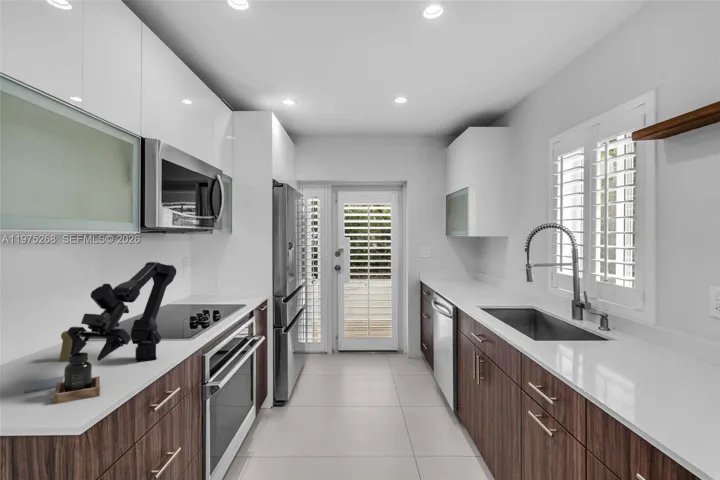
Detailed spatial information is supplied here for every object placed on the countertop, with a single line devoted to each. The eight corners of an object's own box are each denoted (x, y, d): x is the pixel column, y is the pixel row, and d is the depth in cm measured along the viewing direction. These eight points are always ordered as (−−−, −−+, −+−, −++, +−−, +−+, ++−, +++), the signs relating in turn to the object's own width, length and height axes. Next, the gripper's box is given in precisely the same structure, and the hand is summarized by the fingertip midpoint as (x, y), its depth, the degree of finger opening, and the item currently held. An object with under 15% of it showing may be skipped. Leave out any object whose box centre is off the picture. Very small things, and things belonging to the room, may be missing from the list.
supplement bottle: (96, 389, 123) (97, 351, 123) (81, 398, 116) (82, 358, 116) (74, 388, 123) (74, 351, 122) (58, 397, 116) (58, 357, 116)
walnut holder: (99, 383, 127) (99, 376, 127) (99, 395, 118) (99, 387, 118) (56, 390, 121) (56, 382, 121) (53, 403, 112) (53, 395, 112)
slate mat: (63, 377, 131) (63, 376, 131) (61, 386, 124) (61, 385, 124) (28, 383, 126) (28, 381, 126) (24, 392, 119) (24, 391, 119)
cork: (68, 362, 146) (68, 333, 146) (55, 360, 148) (55, 332, 147) (82, 357, 152) (83, 329, 152) (70, 356, 154) (70, 328, 153)
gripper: (71, 302, 127) (40, 344, 116) (125, 304, 126) (99, 347, 115) (89, 320, 135) (62, 362, 124) (140, 323, 134) (117, 365, 123)
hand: (84, 359), depth 121 cm, fingers open, 9 cm apart
